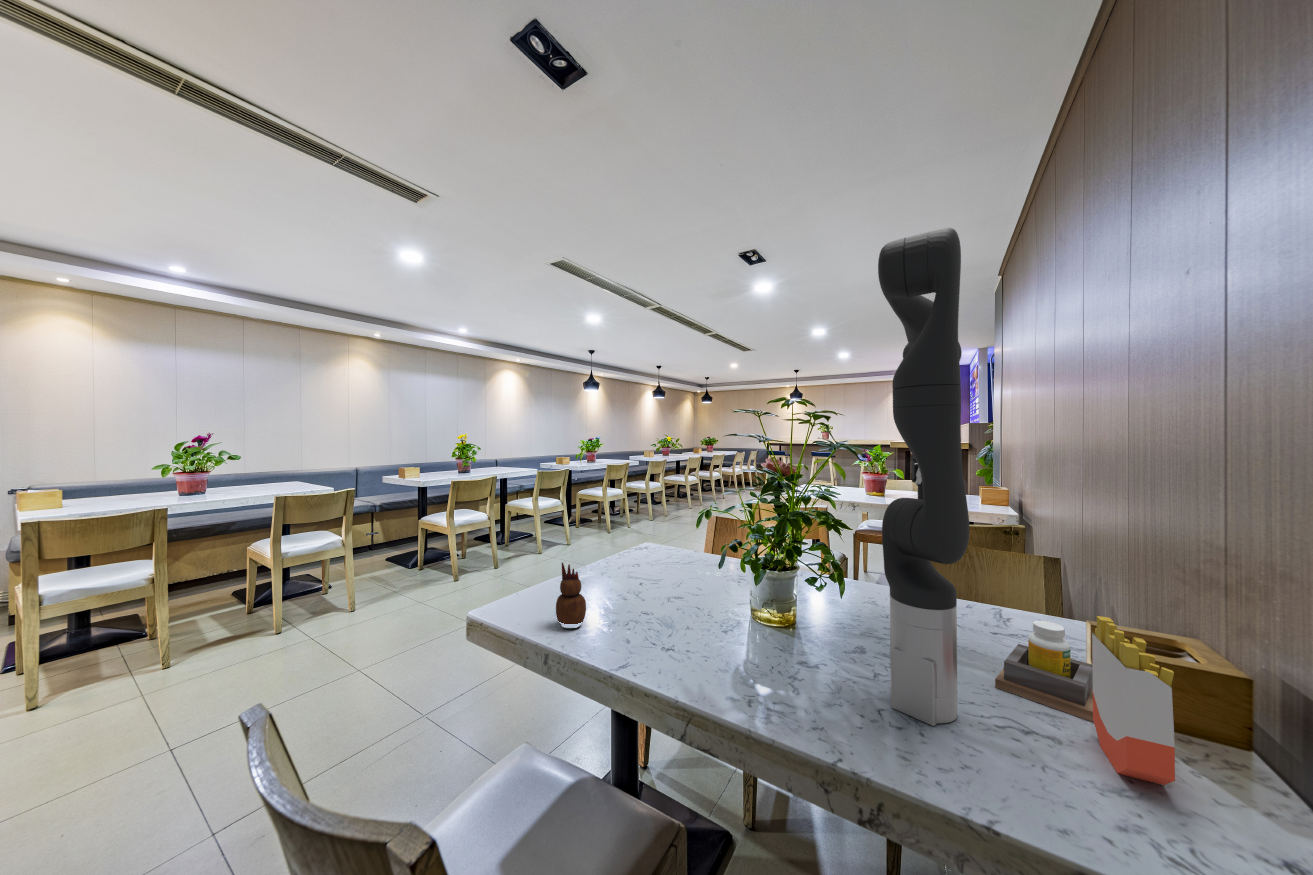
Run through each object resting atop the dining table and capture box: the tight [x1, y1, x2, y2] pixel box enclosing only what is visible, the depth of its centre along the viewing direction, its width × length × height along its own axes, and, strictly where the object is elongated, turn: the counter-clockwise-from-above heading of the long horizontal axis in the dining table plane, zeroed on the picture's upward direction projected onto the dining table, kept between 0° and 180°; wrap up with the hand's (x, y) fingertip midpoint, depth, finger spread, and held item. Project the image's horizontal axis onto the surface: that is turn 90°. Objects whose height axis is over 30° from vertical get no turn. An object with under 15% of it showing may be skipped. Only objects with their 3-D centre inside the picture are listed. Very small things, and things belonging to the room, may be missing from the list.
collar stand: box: [994, 643, 1094, 723], centre depth 75 cm, size 12×12×4 cm
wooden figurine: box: [555, 562, 587, 624], centre depth 102 cm, size 7×6×15 cm
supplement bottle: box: [1027, 620, 1071, 679], centre depth 74 cm, size 5×5×10 cm
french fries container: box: [1091, 615, 1176, 786], centre depth 58 cm, size 5×11×18 cm, turn 151°
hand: (933, 506), depth 94 cm, fingers open, 8 cm apart
